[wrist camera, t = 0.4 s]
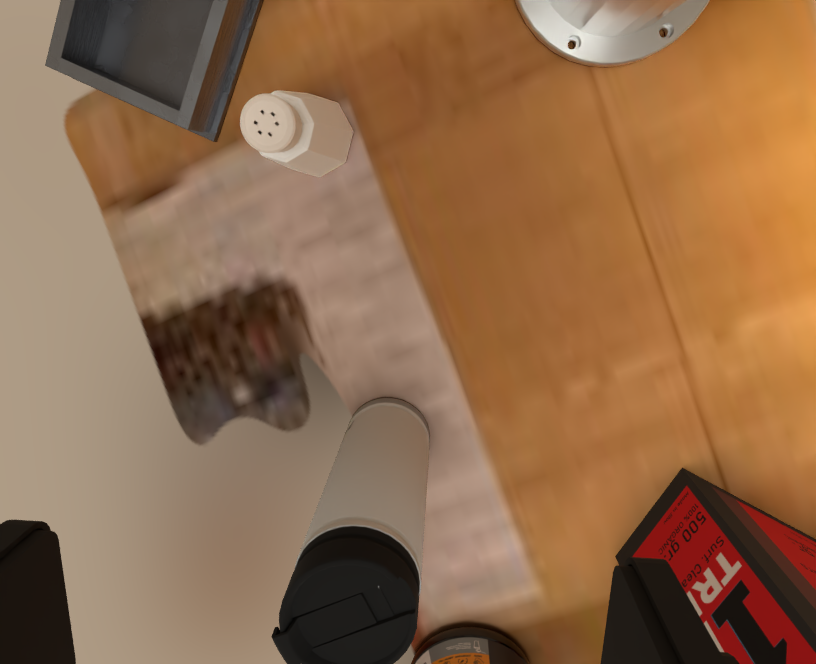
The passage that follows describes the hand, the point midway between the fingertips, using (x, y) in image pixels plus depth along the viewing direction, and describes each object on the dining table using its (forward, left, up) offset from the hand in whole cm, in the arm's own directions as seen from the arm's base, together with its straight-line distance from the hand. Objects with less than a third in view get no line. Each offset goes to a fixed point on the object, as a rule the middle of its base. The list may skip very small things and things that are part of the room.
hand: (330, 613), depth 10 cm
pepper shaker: (-6, -10, -33) cm, 35 cm away
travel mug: (+12, +3, -33) cm, 36 cm away
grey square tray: (-8, -21, -33) cm, 40 cm away
